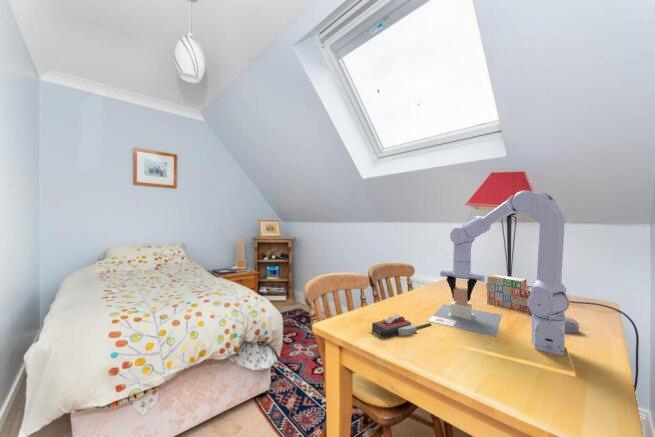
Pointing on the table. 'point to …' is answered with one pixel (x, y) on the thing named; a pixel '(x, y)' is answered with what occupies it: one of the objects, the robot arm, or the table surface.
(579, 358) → the table surface
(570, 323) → the stone block
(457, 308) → the cream base block
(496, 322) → the board
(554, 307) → the robot arm
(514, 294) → the stack of blocks
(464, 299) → the orange cube
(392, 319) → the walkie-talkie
